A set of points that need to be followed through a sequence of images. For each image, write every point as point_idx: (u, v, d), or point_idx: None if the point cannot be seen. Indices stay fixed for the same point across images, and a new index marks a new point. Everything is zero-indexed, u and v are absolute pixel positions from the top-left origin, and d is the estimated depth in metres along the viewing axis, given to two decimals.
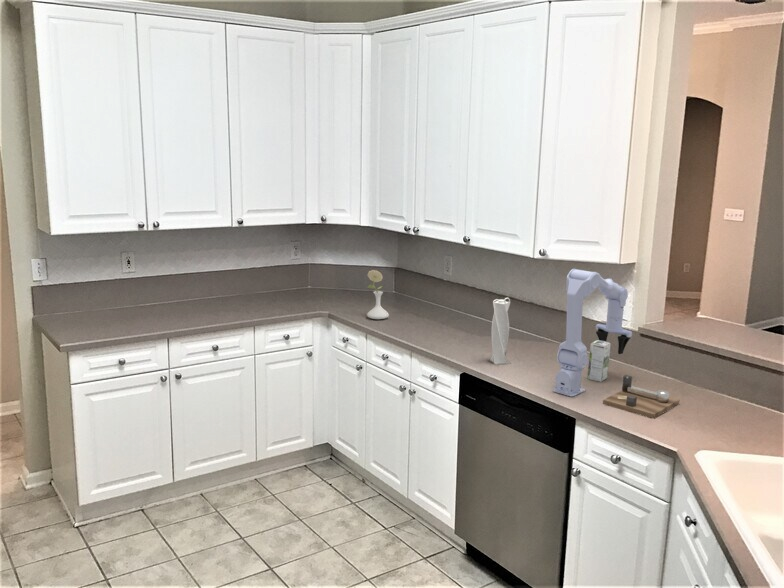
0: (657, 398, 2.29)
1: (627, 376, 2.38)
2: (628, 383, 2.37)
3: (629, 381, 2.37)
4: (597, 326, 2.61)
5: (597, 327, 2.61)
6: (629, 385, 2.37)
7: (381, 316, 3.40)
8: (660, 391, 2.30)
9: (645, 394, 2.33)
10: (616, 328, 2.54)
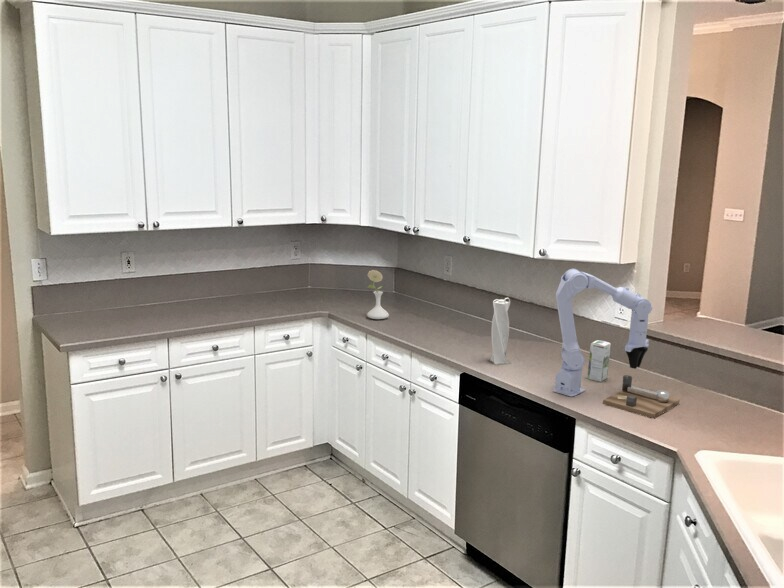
0: (657, 398, 2.29)
1: (627, 376, 2.38)
2: (628, 383, 2.37)
3: (629, 381, 2.37)
4: None
5: None
6: (629, 385, 2.37)
7: (381, 316, 3.40)
8: (660, 391, 2.30)
9: (645, 394, 2.33)
10: (629, 341, 2.39)
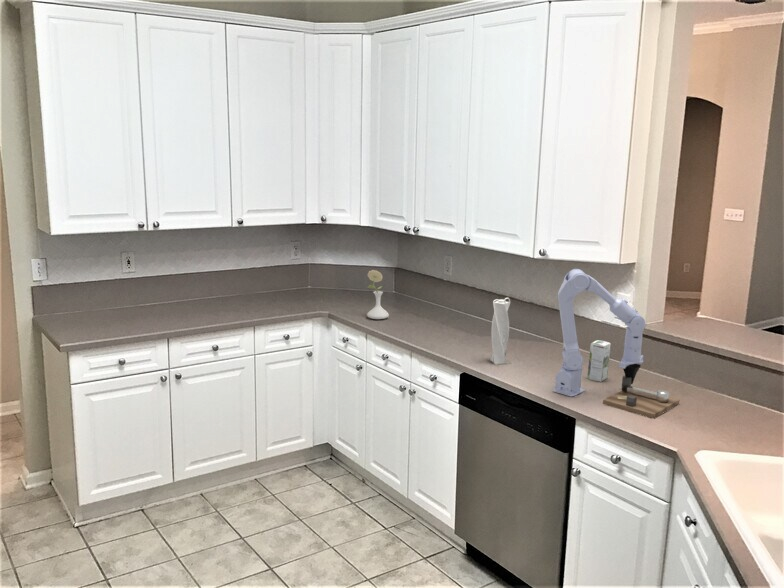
0: (657, 398, 2.29)
1: (626, 376, 2.38)
2: (628, 384, 2.37)
3: (629, 381, 2.37)
4: None
5: None
6: (629, 385, 2.37)
7: (381, 316, 3.40)
8: (660, 391, 2.30)
9: (645, 394, 2.33)
10: (624, 357, 2.38)
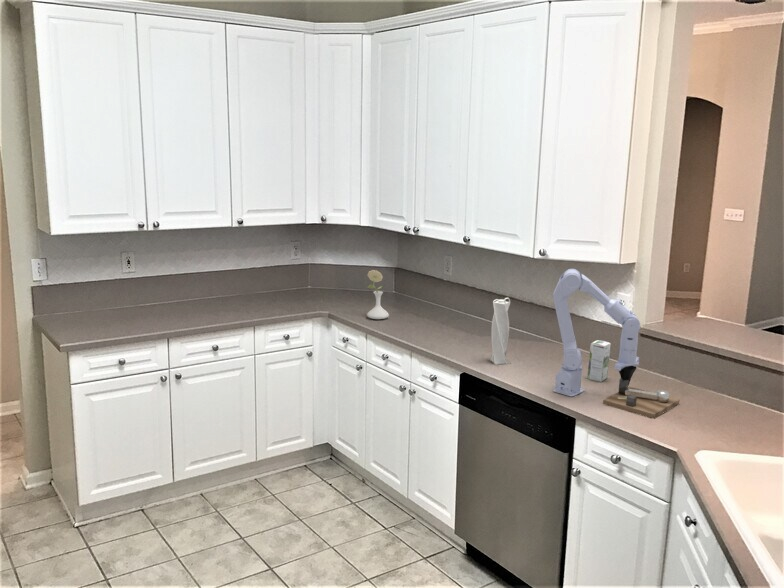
0: (658, 399, 2.29)
1: (623, 379, 2.35)
2: (626, 386, 2.34)
3: (626, 384, 2.34)
4: None
5: None
6: (626, 388, 2.34)
7: (381, 316, 3.40)
8: (660, 391, 2.30)
9: (645, 396, 2.31)
10: (619, 359, 2.35)
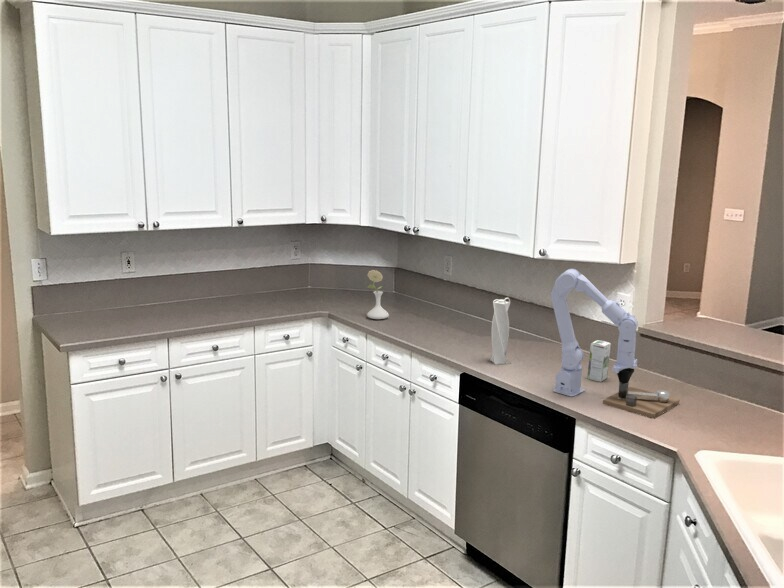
0: (660, 399, 2.29)
1: (623, 382, 2.31)
2: (627, 390, 2.31)
3: (627, 387, 2.31)
4: None
5: None
6: (627, 391, 2.31)
7: (381, 316, 3.40)
8: (660, 391, 2.29)
9: (646, 397, 2.30)
10: (617, 361, 2.32)
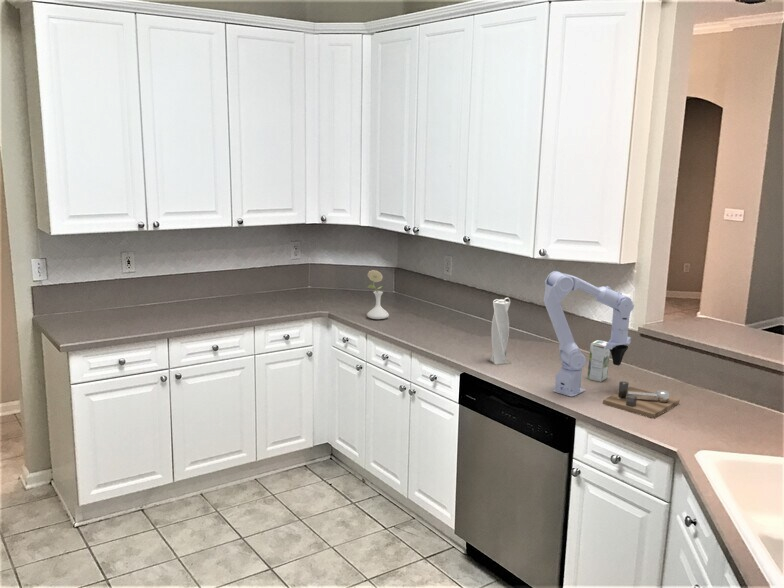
0: (660, 399, 2.29)
1: (623, 382, 2.31)
2: (627, 390, 2.31)
3: (627, 387, 2.31)
4: None
5: None
6: (627, 391, 2.31)
7: (381, 316, 3.40)
8: (660, 391, 2.29)
9: (646, 397, 2.30)
10: (611, 338, 2.41)
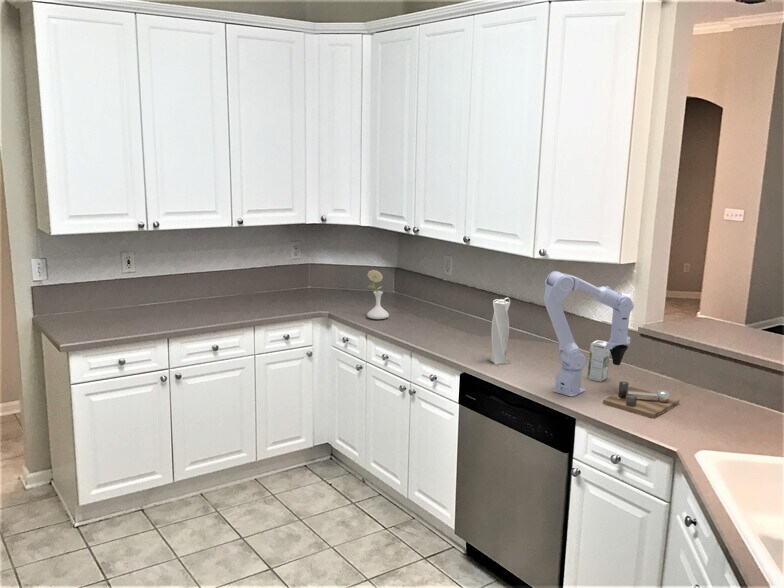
0: (660, 399, 2.29)
1: (623, 382, 2.31)
2: (627, 390, 2.31)
3: (627, 387, 2.31)
4: None
5: None
6: (627, 391, 2.31)
7: (381, 316, 3.40)
8: (660, 391, 2.29)
9: (646, 397, 2.30)
10: (611, 338, 2.41)
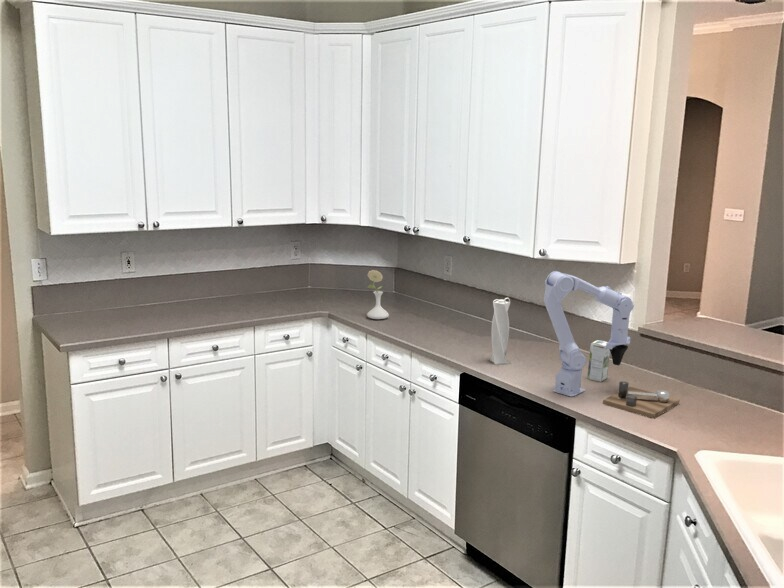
0: (660, 399, 2.29)
1: (623, 382, 2.31)
2: (627, 390, 2.31)
3: (627, 387, 2.31)
4: None
5: None
6: (627, 391, 2.31)
7: (381, 316, 3.40)
8: (660, 391, 2.29)
9: (646, 397, 2.30)
10: (611, 338, 2.41)
